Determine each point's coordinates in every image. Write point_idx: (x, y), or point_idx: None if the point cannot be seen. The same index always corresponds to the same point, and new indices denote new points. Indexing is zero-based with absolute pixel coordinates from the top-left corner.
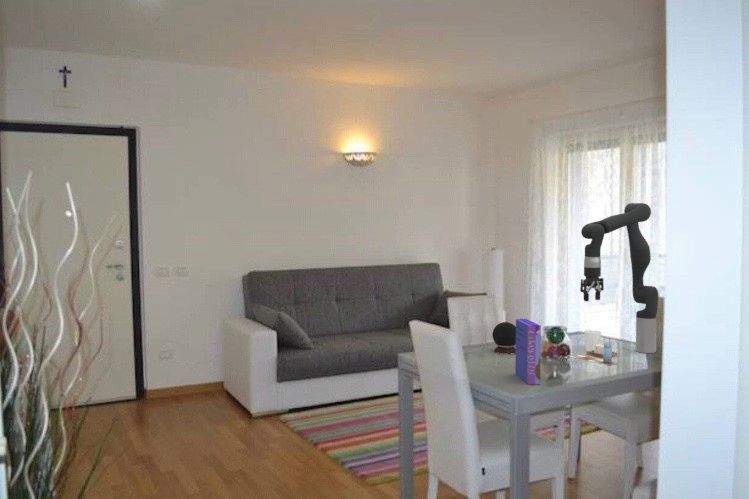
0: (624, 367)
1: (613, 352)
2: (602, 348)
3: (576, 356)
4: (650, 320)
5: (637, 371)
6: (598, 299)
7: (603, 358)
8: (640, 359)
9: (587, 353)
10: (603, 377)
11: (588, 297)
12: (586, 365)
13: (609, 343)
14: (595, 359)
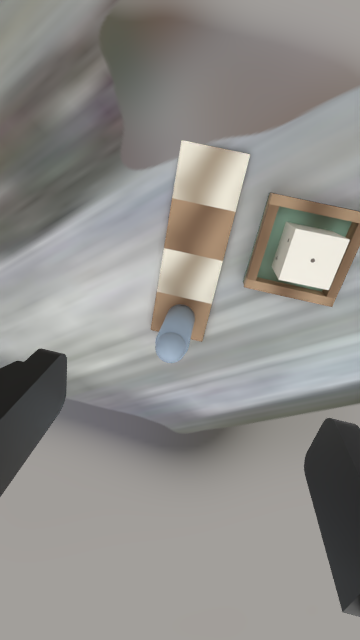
0: (172, 369)
1: (328, 293)
2: (278, 273)
3: (204, 173)
4: None
5: (150, 406)
6: (309, 462)
7: (169, 312)
8: (334, 371)
9: (269, 198)
10: None
11: (27, 447)
12: (106, 271)
13: (167, 361)
14: (202, 264)
